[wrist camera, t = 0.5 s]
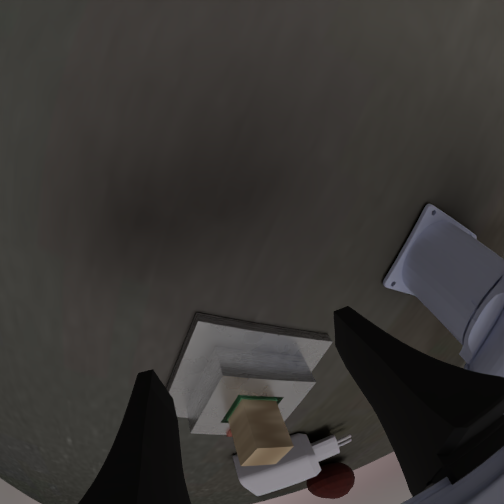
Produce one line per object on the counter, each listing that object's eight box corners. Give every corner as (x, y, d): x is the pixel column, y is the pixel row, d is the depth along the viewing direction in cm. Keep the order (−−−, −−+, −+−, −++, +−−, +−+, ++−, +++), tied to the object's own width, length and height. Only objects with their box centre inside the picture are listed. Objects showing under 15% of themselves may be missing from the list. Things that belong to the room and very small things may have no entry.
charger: (345, 435, 41) (251, 471, 40) (342, 410, 36) (230, 452, 35) (357, 460, 37) (259, 498, 36) (357, 439, 32) (239, 483, 31)
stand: (327, 334, 28) (349, 368, 24) (270, 414, 32) (282, 446, 28) (196, 312, 23) (204, 355, 19) (159, 406, 27) (162, 444, 24)
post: (267, 374, 26) (295, 445, 20) (252, 397, 28) (276, 464, 21) (233, 371, 25) (256, 447, 19) (220, 394, 26) (238, 466, 20)
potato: (312, 459, 43) (327, 495, 37) (352, 451, 46) (368, 483, 40) (292, 478, 45) (305, 510, 40) (331, 470, 49) (345, 500, 43)
